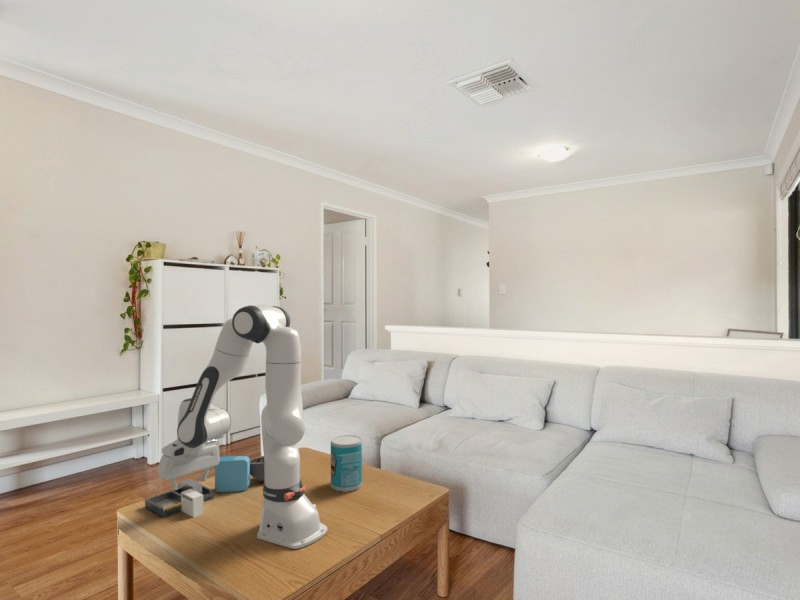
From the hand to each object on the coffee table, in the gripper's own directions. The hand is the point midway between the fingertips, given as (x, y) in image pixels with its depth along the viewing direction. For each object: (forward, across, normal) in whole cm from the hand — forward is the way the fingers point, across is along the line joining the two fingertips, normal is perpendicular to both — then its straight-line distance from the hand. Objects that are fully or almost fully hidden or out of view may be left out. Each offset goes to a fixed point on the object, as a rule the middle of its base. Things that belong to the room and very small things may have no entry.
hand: (190, 485), depth 156 cm
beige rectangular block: (+9, -1, +1) cm, 9 cm away
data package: (+9, -20, -4) cm, 22 cm away
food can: (+7, -48, +29) cm, 56 cm away
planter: (+8, -35, 0) cm, 36 cm away
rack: (+9, -2, -9) cm, 13 cm away
